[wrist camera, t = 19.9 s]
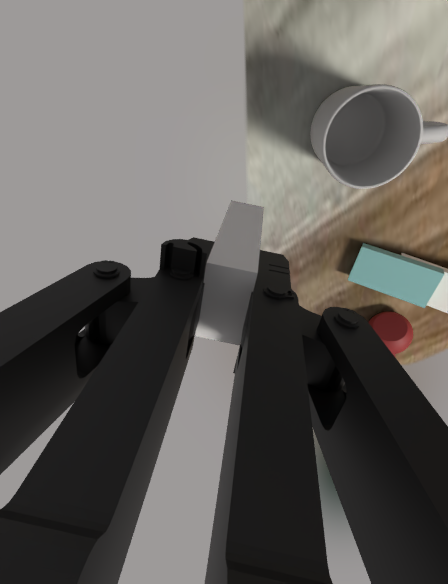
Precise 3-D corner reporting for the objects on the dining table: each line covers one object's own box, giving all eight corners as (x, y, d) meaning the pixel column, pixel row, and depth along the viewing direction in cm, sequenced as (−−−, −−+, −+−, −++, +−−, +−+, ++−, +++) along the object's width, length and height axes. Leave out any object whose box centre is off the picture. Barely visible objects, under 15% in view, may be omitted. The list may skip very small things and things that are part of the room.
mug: (307, 169, 42) (317, 191, 32) (312, 89, 37) (324, 87, 28) (412, 165, 40) (454, 187, 31) (429, 79, 36) (484, 75, 26)
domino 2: (384, 288, 47) (461, 318, 44) (401, 256, 44) (485, 286, 41) (384, 283, 48) (459, 312, 45) (401, 252, 45) (482, 280, 43)
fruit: (361, 326, 54) (374, 375, 50) (361, 311, 50) (376, 364, 46) (402, 320, 53) (419, 370, 49) (407, 303, 48) (426, 357, 44)
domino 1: (347, 279, 46) (424, 307, 44) (361, 246, 44) (444, 274, 41) (349, 275, 48) (423, 302, 45) (363, 242, 45) (443, 269, 42)
